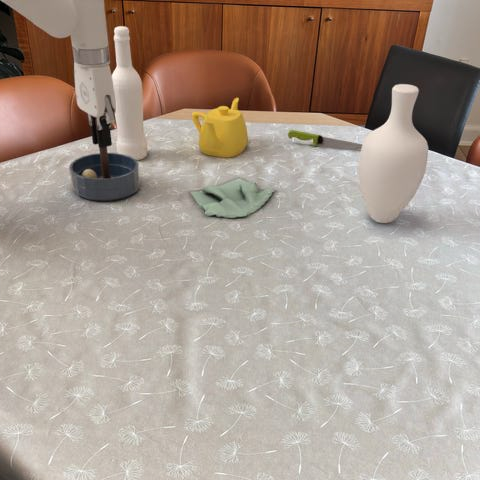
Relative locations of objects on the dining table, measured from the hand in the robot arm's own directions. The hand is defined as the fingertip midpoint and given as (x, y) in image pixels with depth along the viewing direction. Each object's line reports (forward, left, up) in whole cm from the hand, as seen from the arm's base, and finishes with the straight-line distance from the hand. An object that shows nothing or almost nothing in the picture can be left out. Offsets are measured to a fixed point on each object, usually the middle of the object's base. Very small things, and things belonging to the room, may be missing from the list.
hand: (102, 144), depth 150 cm
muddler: (0, 0, -10) cm, 10 cm away
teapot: (+39, +7, -11) cm, 41 cm away
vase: (+43, -50, -11) cm, 67 cm away
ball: (-2, +5, -9) cm, 11 cm away
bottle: (+17, +16, -11) cm, 26 cm away
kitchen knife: (+64, -10, -11) cm, 66 cm away
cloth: (+23, -21, -12) cm, 33 cm away
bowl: (+1, +2, -11) cm, 12 cm away
